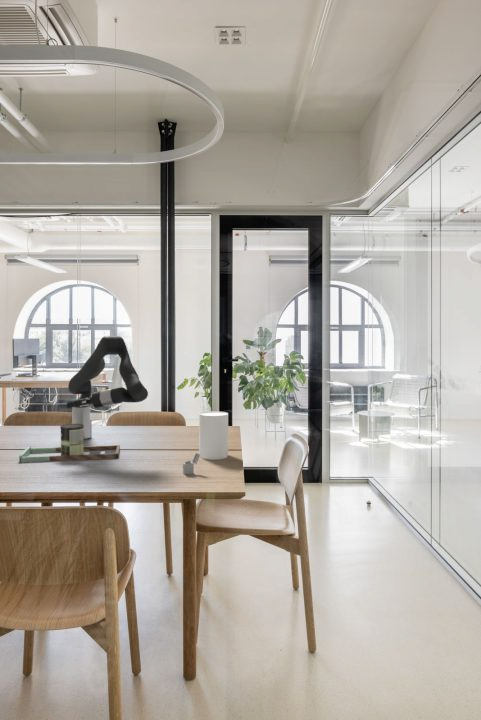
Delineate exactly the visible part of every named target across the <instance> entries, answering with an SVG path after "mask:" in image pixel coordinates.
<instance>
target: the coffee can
mask: <svg viewBox="0 0 481 720" xmlns="http://www.w3.org/2000/svg"><path fill="white" fill-rule="evenodd" d="M83 427H84V425H83V424H72V423H65V424H62V425H60V447H61V452H60V456H62V455H85V454H84V452H85V451H83V446H84V439H83Z"/></svg>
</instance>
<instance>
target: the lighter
mask: <svg viewBox="0 0 481 720" xmlns="http://www.w3.org/2000/svg"><path fill="white" fill-rule="evenodd" d="M199 459H200V454H199V452H196V453H195V455H194V456H193V459H192V461H191V460H185V461H184V462H183V463H182V474H183V476H185V475H192V474H194V468H195V467H194V466H195V465H197V464H198V461H199ZM194 464H195V465H194Z"/></svg>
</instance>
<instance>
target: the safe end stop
mask: <svg viewBox="0 0 481 720" xmlns="http://www.w3.org/2000/svg"><path fill="white" fill-rule="evenodd" d="M56 447H57V446H56ZM56 447H55V446H54V447H53V446H50V447H32V446H31V445H29V446H27V447H26V448H25V449H24V450H23V451H22V452H21V453H20V454H19V456H18V458H21V462H20V459H19V461H18V462H19V463H33V462H34V463H36V462H38V463H39V462H51V461H50V456H51V455H34V456H30V454H41V453H57V452H56Z"/></svg>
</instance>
